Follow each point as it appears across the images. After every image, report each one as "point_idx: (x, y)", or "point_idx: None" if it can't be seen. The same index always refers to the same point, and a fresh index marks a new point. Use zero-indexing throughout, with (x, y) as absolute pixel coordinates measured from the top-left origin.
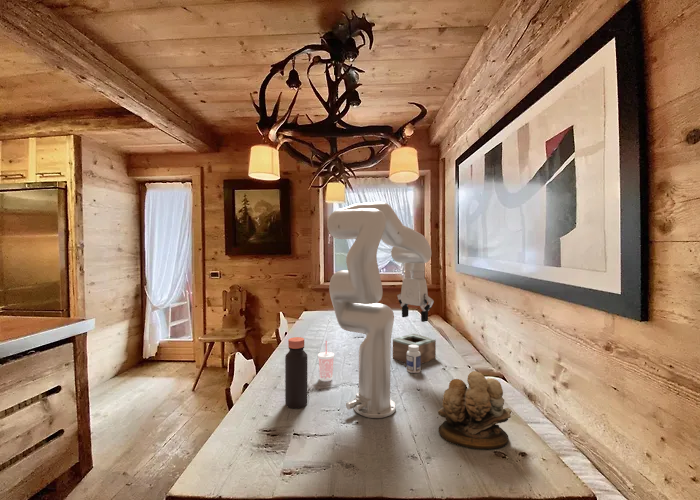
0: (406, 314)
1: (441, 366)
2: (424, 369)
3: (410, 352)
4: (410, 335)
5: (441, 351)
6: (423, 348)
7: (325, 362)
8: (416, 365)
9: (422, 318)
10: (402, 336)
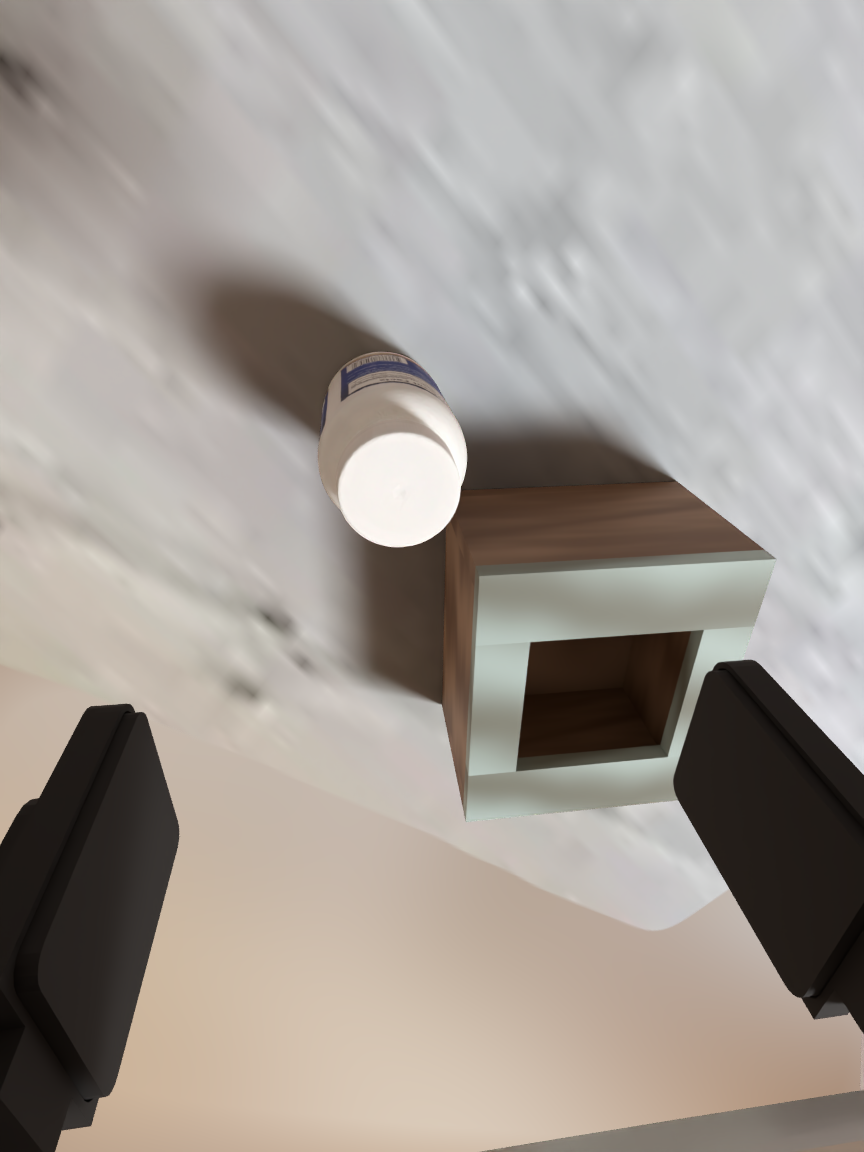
0: (710, 781)
1: (317, 639)
2: None
3: (388, 411)
4: None
5: None
6: (463, 660)
7: None
8: (326, 404)
9: (58, 768)
10: None
